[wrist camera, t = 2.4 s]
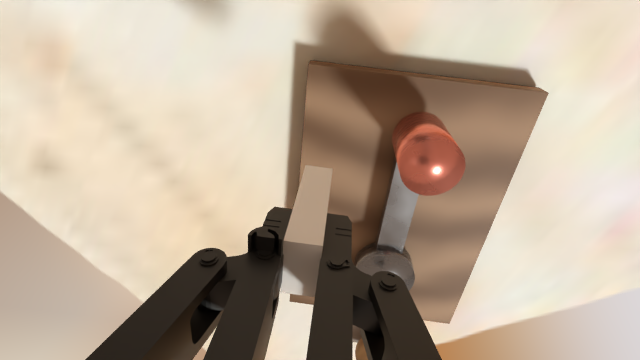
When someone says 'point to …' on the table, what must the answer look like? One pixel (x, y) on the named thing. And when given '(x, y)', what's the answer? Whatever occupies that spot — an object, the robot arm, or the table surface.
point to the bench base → (378, 156)
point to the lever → (411, 189)
